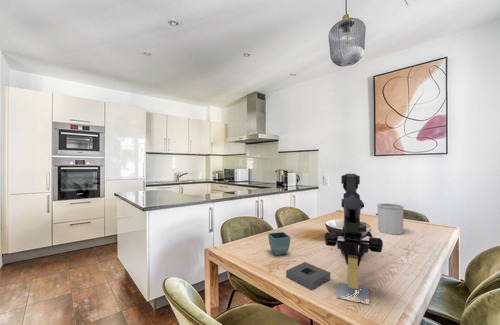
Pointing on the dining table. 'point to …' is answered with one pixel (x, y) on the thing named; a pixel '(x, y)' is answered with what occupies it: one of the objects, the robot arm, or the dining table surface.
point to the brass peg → (353, 271)
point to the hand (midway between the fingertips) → (352, 265)
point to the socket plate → (312, 279)
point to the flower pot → (279, 242)
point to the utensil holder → (390, 218)
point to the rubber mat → (352, 292)
